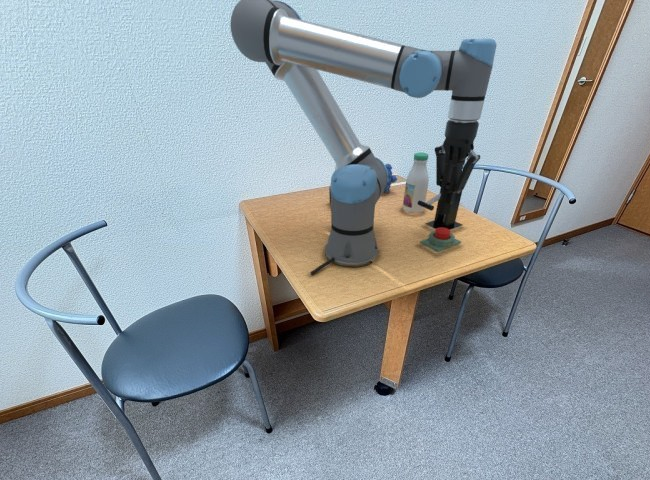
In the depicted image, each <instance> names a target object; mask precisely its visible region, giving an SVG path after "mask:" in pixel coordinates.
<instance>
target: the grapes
mask: <svg viewBox="0 0 650 480" xmlns="http://www.w3.org/2000/svg"><path fill="white" fill-rule="evenodd" d="M384 165H385V166H386V168H387V172H388V182H387V186H386V189H385V191H384V193H383V194H388V193H389V191H390V188H391V187H392V186H391V185H392V184H395V183H396V182H397V181H398V177H397V176H396V175H395V174H393V171H392V169H393V165H391V163H385V164H384Z"/></svg>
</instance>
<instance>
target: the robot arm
mask: <svg viewBox="0 0 650 480" xmlns="http://www.w3.org/2000/svg"><path fill="white" fill-rule="evenodd" d="M229 23H230V33H231V36H232V40H233V43H234V44H235V46H236V48H237V50H239V52H240V53H241V54H242V55H243V56H244V57H245V58H246V59H248V60H250V61H251V62H252V61H253V62H255V63H256V62H257V63H265V64H266V66H267V67H268V69H269V71H270V73H272V75H273V77H274V78H275V79H276V80H278V81H282V82H284V83H285V85H286V86H287V88H288V89H289V91H290V92H291V94H292V96H293V97H294V100H295V101H296V103H297V104H298V105H299V107H300V108H301V110H302V112H303V113H304V115H305V116H306V119H308V121H309V123H310V124H311V126H312V127H313V129H314V131H315V133H316V134H317V135H318V137H319V139H320V141H322V143H323V145H324V147H325V148H326V150H327V151H328V154H330V156H331V158H332V160H333V161H334V164H335V168H334V171H333V172H332V175H331V178H330V183H329V186H330V192H331V205H330V222H331V223H330V224H331V226H330V228H331V229H330V232H329V235H328V238H327V242H326V244H325V251H324V253H325V258H326V259H327V261H324V262H323V263H322V264H320V265H319V266H317V267H316V268H315V269H313V270H310V275H311V276H313V275H315V274H316V273H318V272H320V271H321V270H322V269H324V268H326V267H327V266H328V265H331V264H332V263H333V264H334V265H337V266H341V267H345V268H346V267H347V268H358V267H363V266H364V267H365V266H368V265H370V264H372V263H373V261H372V260H374V259H375V258H377V256H378V253H379V247H378V243H377V239H376V236H375V235H376V234H375V231H374V223H375V211H376V204H377V203H378V201H379V200H380V199H381V197H382V195H384V194H385V193H384V191H385V189H386V186H387V182H388V172H387V168H386V166H385V165H386V164H385V163H384V161H383V160H381V159H380V158H379V157H376V156H375V154H374V153H373V151H372V150H371V148H370V146H369V145H364V144H362V143H361V142H360V140H359V138H358V137H357V135H356V133H355V132H354V130H353V128H352V127H351V124H350V123H349V121H348V120H347V118H346V116H345V115H344V113H343V110H342V109H341V108H340V106H339V104H338V102H337V101H336V98H335V97H334V95H333V94H332V93H331V91H330V89H329V87H328V85H327V83H326V81H325V80H324V79H323V77H322V75H321V74H320V72H319V71H322V72H326V73H329V74H332V75H336V76H341V77H345V78H347V79H352V80H357V81H360V82H364V83H368V84H371V85H376V86H379V87H383V88H387V89H391V90H394V91H397V92H401V93H405V94H406V95H407V96H409V97H411V98H415V99H422V98H425V97H427V96H429V95H430V94H432V93H433V92H434V91H445V92H447V91H448V92H449V91H451V97H450V101H449V106H448V107H449V108H448V113H447V118H448V120H447V121H446V125H445V128H444V129H445V131H444V137H445V139H444V141H443V143H442V144H441V145H439V146H435V147H434V153H435V160H436V161H435V162H436V164H435V165H436V166H435V168H436V169H435V170H436V172H435V173H436V177H435V178H436V179H435V181H436V182H435V183H436V186H439V187H440V188H441V189H442V190H441V196H440V201H441V206H440V211H439V214H442V215H445V214H448V213H450V208H451V203H453V202H454V199H455V195H456V192H458V191H461V190H463V191H464V189H465V187H466V185H467V183H468V182H469V181H468V180H469V179H470V177H471V175H472V172H473V170H474V168H475V165H476V164H478V162H479V161H480V159H481V155H480V154H476V152H475V151H474V149H475V148H474V147H475V146H474V145H475V144H474V142H475V139H476V137H477V135H478V130H479V126H480V122H479V120H480V119H481V117H482V112H483V107H484V105H485V104H484V103H485V99H486V95H487V91H488V87H489V82H490V78H491V75H492V71H493V68H494V67H493V66H494V61H495V57H496V52H497V51H496V50H497V42H496V40H495V39H494V38H464V39H463V40H462V41H461V42H460V45H459V47H458V49H455V50H427V49H422V48H417V47H413V46H409V45H404V44H402V43H397V42H392V41H389V40H384V39H381V38H377V37H373V36H368V35H364V34H362V33H361V34H360V33H356V32H352V31H348V30H344V29H341V28H335V27H332V26H327V25H323V24H319V23H315V22H311V21H307V20H304V19H303V18H302V17H301V16H300V14H299V13H298V11H296V10H295V9H294V8H293V7H292V6H290V5H289V4H288V3H286V2H283V1H281V0H239V1H238V2H237V3H236V4H235V6H234V7H233V10H232V13H231V16H230V22H229Z"/></svg>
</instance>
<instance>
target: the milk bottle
mask: <svg viewBox="0 0 650 480" xmlns="http://www.w3.org/2000/svg"><path fill="white" fill-rule="evenodd" d="M428 159H429V154H428V153H426V152H415V153H414V155H413V164H412V166H411V168H410V170H409V172H408V175H407V176H406V180H405V187H404V195H403V201H402V210H403V211H404V212H407V213H412V214H419V213H422V212H424V211H425V208H424V207H422V206H419V205H418V204H417V203H418V201H419V200H420V201H423V202H425V203H426V202H427V196H428V189H429V181H430V180H429V179H430V176H429V172H428V168H427V163H428Z"/></svg>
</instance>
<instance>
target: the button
mask: <svg viewBox="0 0 650 480" xmlns="http://www.w3.org/2000/svg"><path fill="white" fill-rule="evenodd" d="M434 229H435V228H434ZM434 231H435V234H434V237H435V238H437V239H441V240H447V239H449V237H450V233H452V230H449V229H447V228H442V227H440V228H436V229H435V230H434Z"/></svg>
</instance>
